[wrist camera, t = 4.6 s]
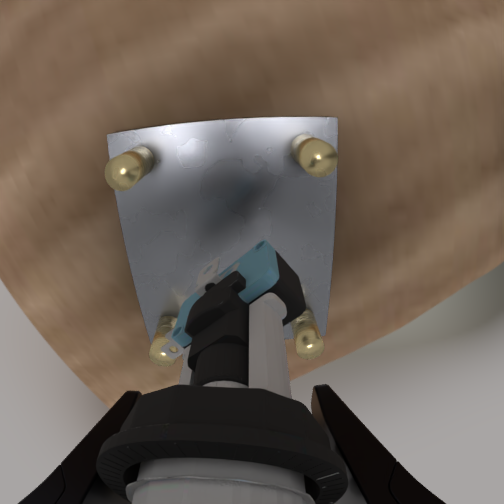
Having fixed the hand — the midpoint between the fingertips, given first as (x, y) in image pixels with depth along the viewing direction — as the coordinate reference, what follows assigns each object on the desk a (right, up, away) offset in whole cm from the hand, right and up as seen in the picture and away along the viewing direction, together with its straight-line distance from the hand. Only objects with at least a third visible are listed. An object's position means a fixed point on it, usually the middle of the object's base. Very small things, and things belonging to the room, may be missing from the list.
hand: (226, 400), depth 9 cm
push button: (0, +3, +5) cm, 6 cm away
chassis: (-1, +5, +10) cm, 11 cm away
